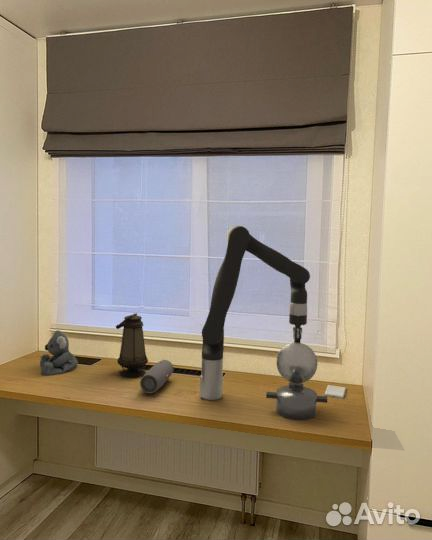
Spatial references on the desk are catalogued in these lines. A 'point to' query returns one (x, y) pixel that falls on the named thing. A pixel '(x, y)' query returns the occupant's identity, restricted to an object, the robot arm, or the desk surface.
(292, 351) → the lid
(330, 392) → the hard drive
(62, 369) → the koala plush
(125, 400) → the desk surface
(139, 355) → the lantern
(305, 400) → the pot
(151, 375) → the bluetooth speaker
